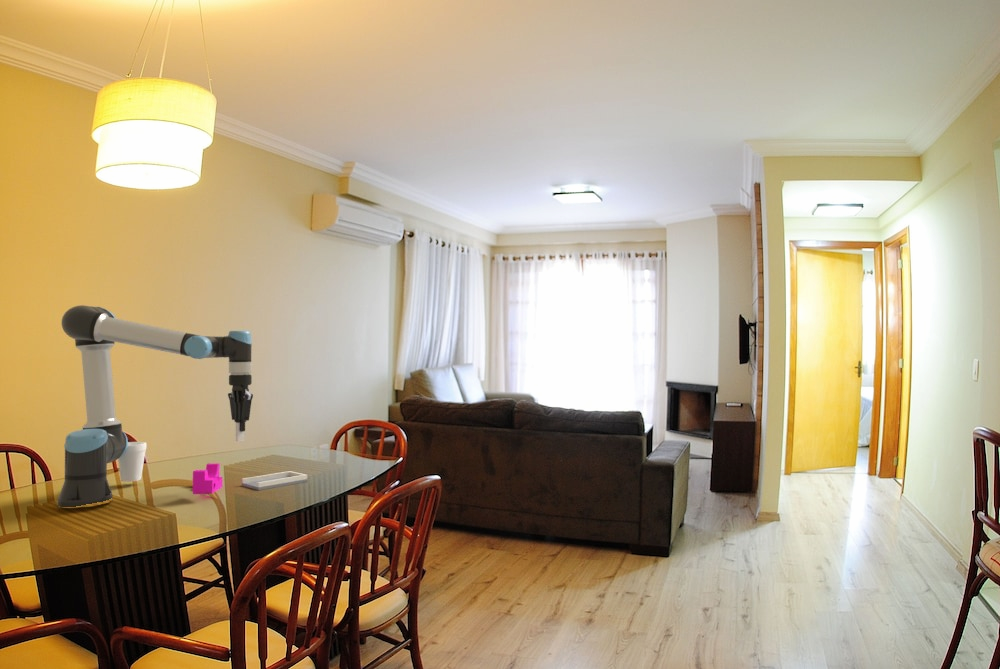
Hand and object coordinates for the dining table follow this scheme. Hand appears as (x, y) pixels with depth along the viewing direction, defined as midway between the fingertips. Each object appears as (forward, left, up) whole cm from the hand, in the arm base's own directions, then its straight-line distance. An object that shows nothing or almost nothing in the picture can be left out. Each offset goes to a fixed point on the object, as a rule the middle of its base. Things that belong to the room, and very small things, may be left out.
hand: (240, 440), depth 239 cm
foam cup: (-23, +35, -15) cm, 44 cm away
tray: (+7, -11, -15) cm, 20 cm away
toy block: (-11, -1, -16) cm, 19 cm away
